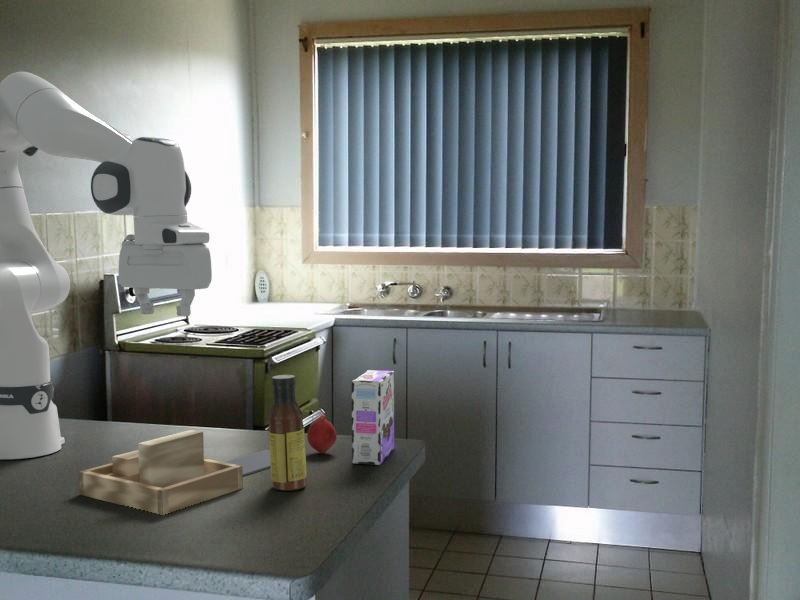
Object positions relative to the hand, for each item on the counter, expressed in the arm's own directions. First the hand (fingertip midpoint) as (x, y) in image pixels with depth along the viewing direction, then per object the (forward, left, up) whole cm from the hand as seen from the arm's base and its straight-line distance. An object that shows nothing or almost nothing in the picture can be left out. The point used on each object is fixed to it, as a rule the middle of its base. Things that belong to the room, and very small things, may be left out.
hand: (165, 315), depth 163 cm
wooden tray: (-2, 0, -31) cm, 31 cm away
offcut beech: (-9, +1, -28) cm, 30 cm away
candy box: (+15, +40, -31) cm, 53 cm away
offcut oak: (-9, -4, -31) cm, 33 cm away
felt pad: (-1, +23, -31) cm, 39 cm away
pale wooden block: (+1, 0, -31) cm, 31 cm away
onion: (+5, +36, -31) cm, 48 cm away
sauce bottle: (+15, +14, -31) cm, 37 cm away
